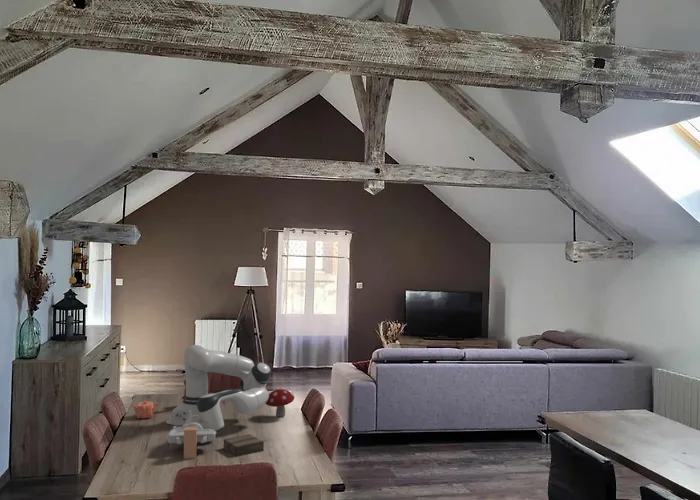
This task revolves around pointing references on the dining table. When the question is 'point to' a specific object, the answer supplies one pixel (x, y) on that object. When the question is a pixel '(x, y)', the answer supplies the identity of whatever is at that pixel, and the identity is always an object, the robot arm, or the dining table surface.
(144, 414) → the teapot
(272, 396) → the decorative mushroom
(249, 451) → the walnut plinth
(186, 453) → the terracotta block
